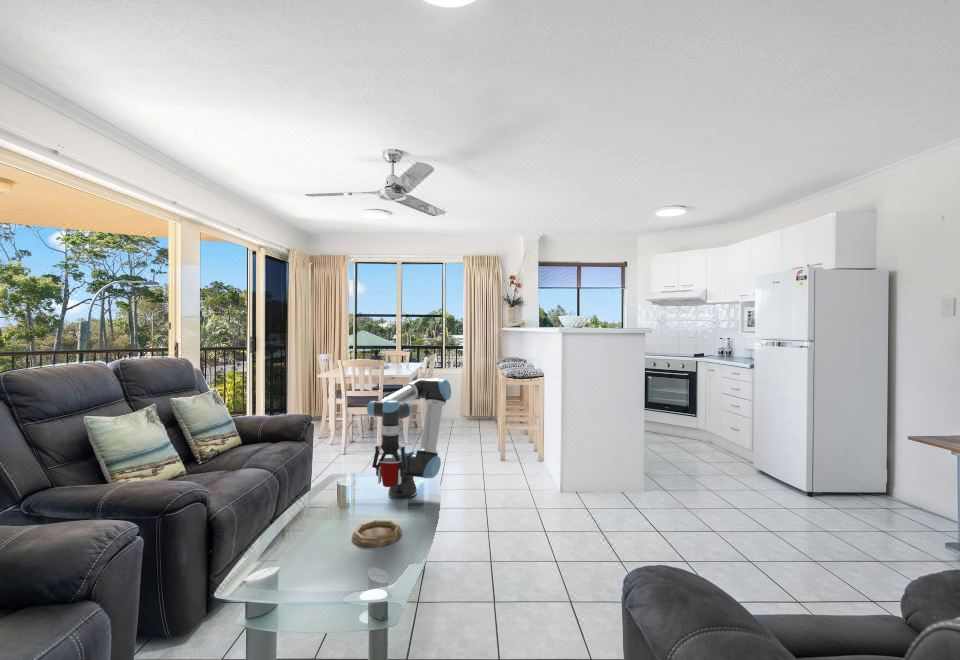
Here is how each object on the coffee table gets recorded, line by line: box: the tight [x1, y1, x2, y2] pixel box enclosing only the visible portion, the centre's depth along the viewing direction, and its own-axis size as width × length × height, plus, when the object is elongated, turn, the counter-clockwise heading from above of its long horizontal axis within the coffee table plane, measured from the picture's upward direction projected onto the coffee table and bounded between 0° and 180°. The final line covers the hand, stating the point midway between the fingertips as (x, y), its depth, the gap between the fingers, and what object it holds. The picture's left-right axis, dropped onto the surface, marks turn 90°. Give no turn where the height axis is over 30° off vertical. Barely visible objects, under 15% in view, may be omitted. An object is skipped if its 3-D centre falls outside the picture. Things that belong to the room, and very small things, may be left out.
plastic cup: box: [377, 457, 402, 488], centre depth 207 cm, size 11×11×12 cm
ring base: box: [351, 519, 403, 548], centre depth 193 cm, size 21×21×3 cm
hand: (389, 483), depth 207 cm, fingers closed on plastic cup, 9 cm apart
